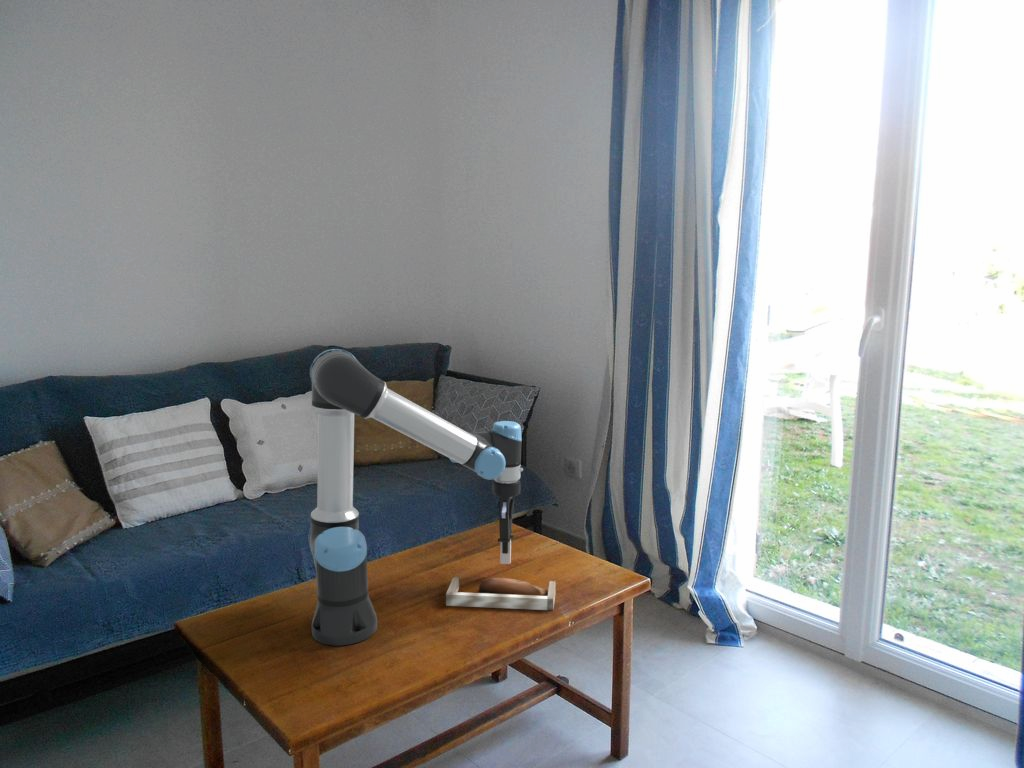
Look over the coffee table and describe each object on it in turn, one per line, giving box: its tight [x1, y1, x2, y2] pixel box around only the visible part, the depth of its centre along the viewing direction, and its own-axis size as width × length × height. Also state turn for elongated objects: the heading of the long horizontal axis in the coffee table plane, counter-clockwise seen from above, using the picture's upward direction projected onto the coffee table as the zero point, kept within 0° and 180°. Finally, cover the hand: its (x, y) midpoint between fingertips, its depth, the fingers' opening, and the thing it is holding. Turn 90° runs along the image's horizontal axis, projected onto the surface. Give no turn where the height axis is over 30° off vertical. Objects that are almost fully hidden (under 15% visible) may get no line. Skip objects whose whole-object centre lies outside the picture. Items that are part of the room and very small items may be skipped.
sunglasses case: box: [478, 577, 548, 596], centre depth 194 cm, size 18×7×7 cm
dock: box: [445, 576, 557, 611], centre depth 191 cm, size 27×10×3 cm, turn 84°
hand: (505, 562), depth 203 cm, fingers closed
